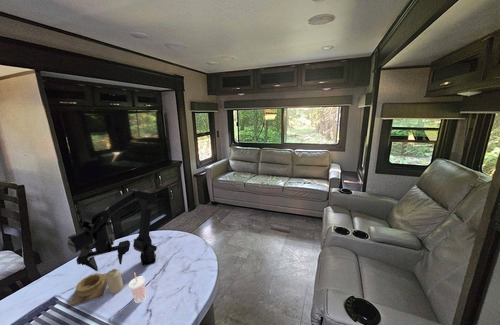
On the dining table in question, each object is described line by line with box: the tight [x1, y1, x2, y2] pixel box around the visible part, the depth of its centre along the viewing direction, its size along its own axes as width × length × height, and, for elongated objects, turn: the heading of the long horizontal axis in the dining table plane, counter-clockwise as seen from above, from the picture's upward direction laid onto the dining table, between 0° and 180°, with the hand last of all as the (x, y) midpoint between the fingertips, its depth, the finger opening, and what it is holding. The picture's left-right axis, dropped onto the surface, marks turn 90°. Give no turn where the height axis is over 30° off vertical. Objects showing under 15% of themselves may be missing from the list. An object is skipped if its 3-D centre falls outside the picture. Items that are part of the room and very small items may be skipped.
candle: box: [105, 268, 124, 295], centre depth 92 cm, size 6×6×10 cm
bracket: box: [68, 272, 108, 307], centre depth 94 cm, size 12×14×4 cm
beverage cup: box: [128, 271, 147, 304], centre depth 87 cm, size 6×6×14 cm
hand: (109, 267), depth 91 cm, fingers open, 9 cm apart
